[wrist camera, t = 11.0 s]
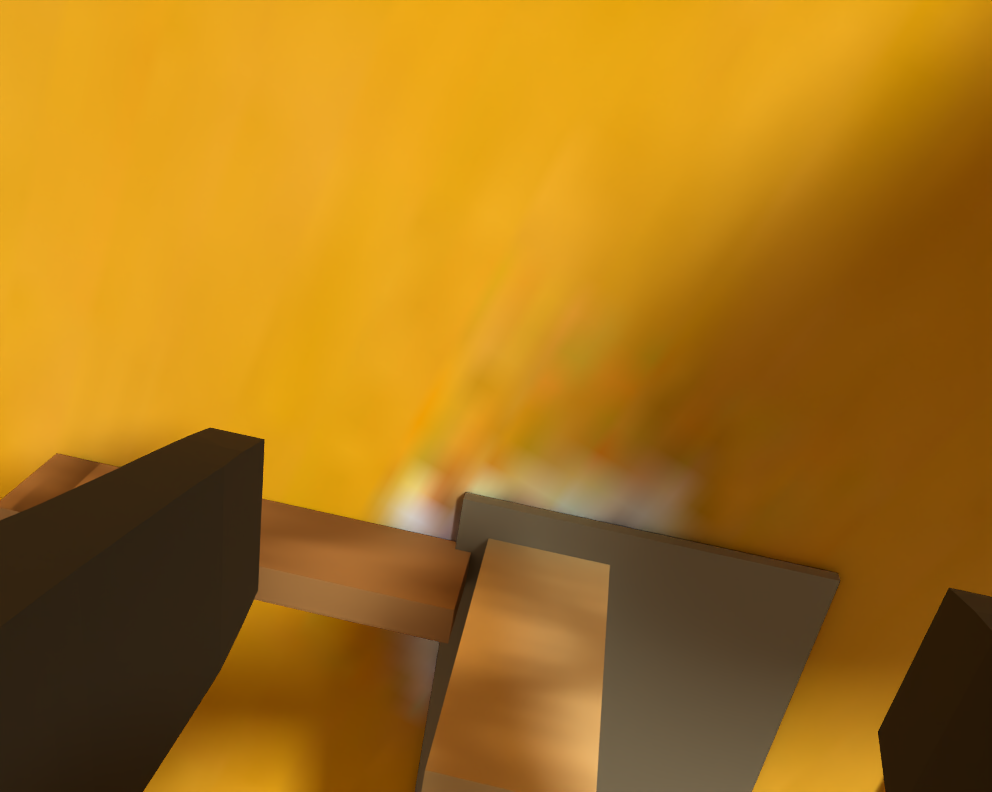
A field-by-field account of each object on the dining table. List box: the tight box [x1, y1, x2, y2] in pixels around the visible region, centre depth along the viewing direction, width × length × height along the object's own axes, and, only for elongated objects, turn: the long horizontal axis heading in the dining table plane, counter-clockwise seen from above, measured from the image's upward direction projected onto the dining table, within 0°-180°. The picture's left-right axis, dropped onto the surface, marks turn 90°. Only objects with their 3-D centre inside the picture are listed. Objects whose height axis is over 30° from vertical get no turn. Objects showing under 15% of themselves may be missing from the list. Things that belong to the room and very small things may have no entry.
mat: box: [415, 492, 840, 792], centre depth 24 cm, size 9×12×1 cm
